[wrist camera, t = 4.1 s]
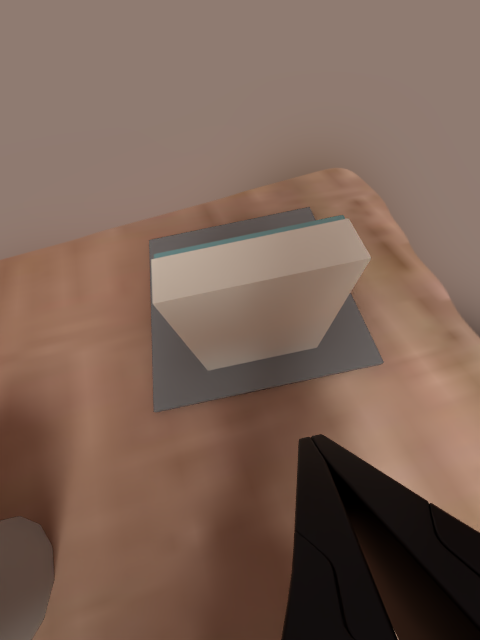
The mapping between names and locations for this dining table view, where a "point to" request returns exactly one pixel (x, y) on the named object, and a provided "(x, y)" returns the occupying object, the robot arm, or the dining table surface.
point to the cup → (23, 577)
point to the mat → (202, 385)
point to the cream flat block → (259, 290)
